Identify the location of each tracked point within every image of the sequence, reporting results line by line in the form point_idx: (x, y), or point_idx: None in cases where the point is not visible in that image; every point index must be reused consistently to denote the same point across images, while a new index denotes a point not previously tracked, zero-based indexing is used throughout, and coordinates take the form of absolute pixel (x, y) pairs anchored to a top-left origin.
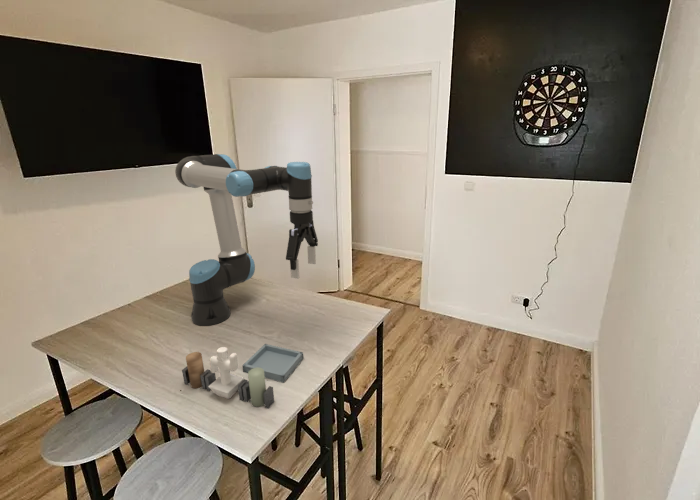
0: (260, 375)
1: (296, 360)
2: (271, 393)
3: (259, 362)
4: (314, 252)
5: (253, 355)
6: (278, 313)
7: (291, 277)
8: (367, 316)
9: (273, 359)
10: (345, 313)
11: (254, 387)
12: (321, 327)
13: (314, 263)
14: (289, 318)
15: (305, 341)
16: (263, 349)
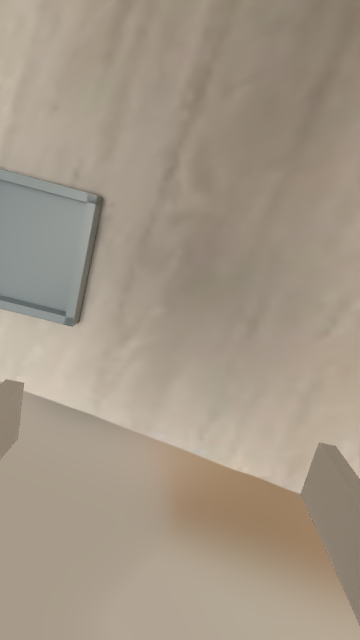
0: None
1: (33, 316)
2: None
3: (30, 203)
4: (348, 597)
5: (29, 179)
6: (335, 167)
7: (4, 384)
8: None
9: (51, 241)
10: (332, 400)
11: None
12: (242, 340)
13: (303, 495)
14: (297, 221)
15: (161, 308)
16: (73, 198)
